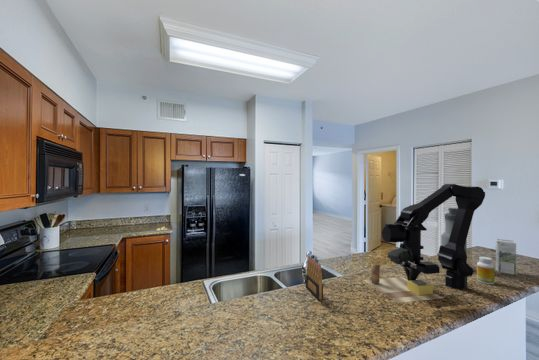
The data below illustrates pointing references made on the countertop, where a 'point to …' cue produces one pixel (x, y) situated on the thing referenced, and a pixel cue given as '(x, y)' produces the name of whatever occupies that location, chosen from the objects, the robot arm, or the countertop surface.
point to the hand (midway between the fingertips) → (411, 284)
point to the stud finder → (420, 287)
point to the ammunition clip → (314, 279)
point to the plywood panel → (400, 290)
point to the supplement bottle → (485, 271)
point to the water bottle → (450, 227)
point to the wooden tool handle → (375, 273)
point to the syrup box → (506, 256)
